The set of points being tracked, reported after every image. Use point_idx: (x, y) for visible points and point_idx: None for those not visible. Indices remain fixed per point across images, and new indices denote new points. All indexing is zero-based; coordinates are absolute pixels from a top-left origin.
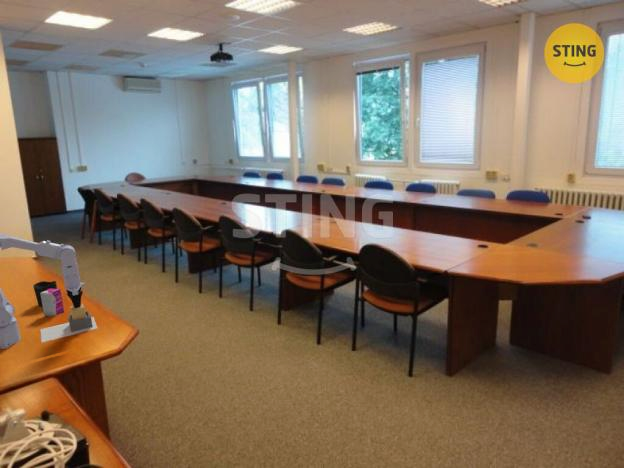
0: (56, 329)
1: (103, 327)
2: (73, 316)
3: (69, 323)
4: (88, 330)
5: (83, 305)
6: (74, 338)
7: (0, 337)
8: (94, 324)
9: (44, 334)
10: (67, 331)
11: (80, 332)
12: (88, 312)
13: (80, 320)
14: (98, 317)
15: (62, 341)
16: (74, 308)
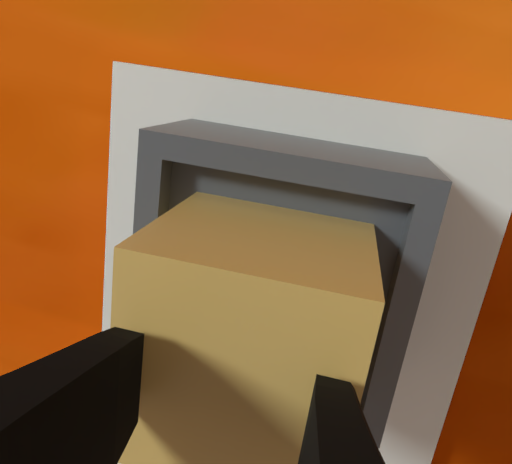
0: None
1: (494, 39)
2: None
3: (378, 435)
4: (504, 229)
5: (234, 278)
6: (505, 366)
7: None
8: (377, 120)
9: None
10: None
11: (479, 309)
12: (214, 153)
13: (411, 320)
14: (126, 5)
15: (471, 453)
16: (268, 447)
